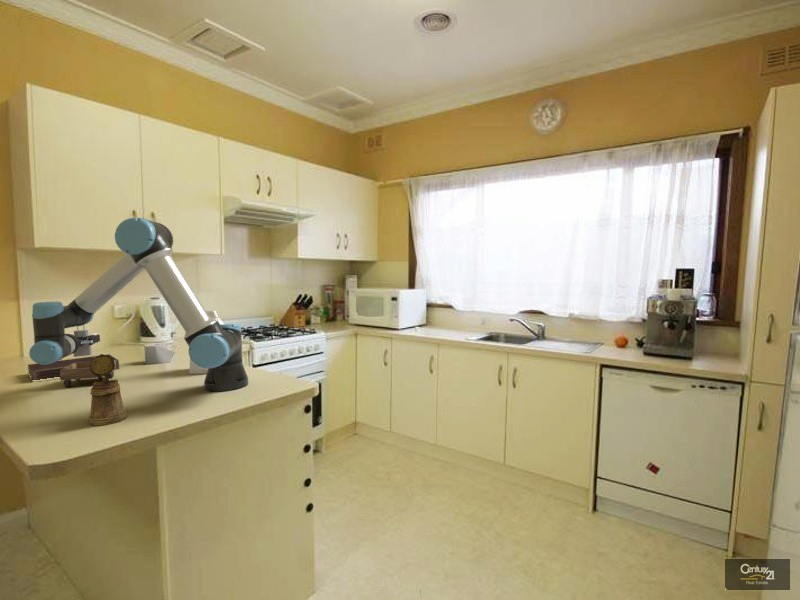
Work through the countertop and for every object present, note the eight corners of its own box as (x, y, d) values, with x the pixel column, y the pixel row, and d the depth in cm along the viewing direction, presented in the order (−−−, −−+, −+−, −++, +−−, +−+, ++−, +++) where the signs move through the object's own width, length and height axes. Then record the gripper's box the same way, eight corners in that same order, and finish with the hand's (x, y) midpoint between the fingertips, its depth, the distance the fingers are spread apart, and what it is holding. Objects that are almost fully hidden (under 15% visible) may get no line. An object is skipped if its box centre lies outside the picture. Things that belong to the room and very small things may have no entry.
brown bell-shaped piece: (122, 409, 129) (119, 351, 128) (128, 420, 119) (124, 358, 118) (87, 415, 123) (83, 356, 122) (90, 428, 113) (85, 363, 112)
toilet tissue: (173, 363, 197) (172, 345, 196) (141, 364, 194) (140, 346, 193) (178, 359, 206) (177, 342, 205) (148, 361, 203) (147, 343, 202)
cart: (105, 384, 159) (104, 366, 159) (61, 388, 154) (59, 370, 154) (116, 376, 172) (115, 359, 172) (76, 379, 167) (74, 362, 167)
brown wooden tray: (32, 383, 165) (31, 371, 164) (28, 376, 178) (27, 364, 177) (119, 370, 185) (118, 359, 185) (109, 364, 198) (109, 354, 198)
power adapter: (73, 355, 159) (71, 324, 158) (91, 353, 162) (89, 323, 161) (73, 356, 156) (71, 325, 155) (91, 354, 160) (89, 324, 159)
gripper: (29, 359, 139) (58, 348, 161) (96, 354, 146) (114, 344, 167) (27, 337, 138) (56, 328, 160) (94, 333, 145) (113, 325, 167)
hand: (86, 336), depth 164 cm, fingers closed on power adapter, 6 cm apart
